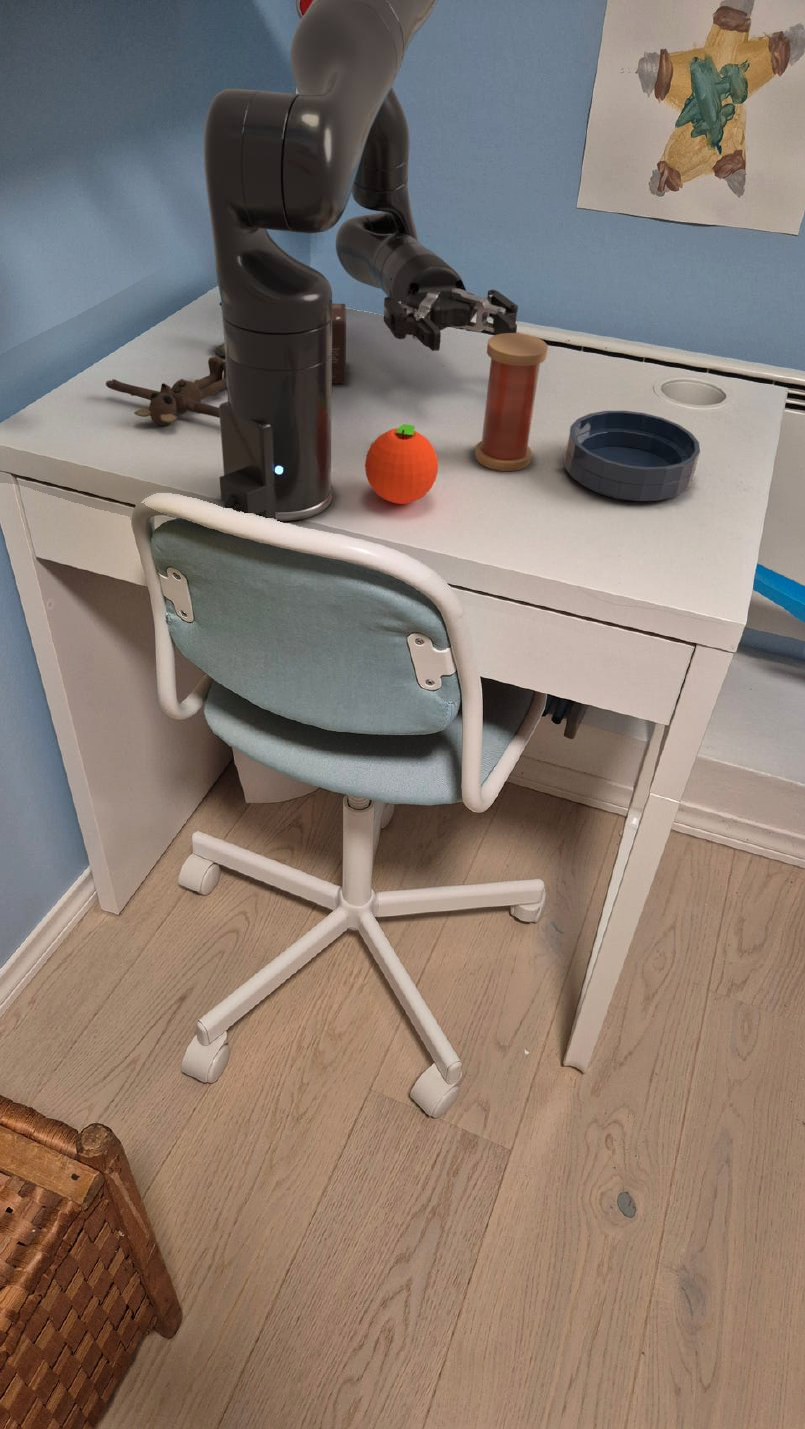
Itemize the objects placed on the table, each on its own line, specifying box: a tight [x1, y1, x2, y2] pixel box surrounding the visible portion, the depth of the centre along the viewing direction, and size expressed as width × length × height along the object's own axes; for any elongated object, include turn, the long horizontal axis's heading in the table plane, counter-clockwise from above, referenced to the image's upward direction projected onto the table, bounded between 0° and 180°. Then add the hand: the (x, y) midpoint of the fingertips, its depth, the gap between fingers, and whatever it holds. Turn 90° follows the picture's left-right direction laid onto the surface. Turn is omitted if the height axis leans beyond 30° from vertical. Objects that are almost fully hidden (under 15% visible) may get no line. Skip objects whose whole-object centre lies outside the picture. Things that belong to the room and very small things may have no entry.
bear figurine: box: [105, 355, 227, 427], centre depth 107 cm, size 18×4×14 cm
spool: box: [474, 332, 549, 472], centre depth 98 cm, size 6×6×12 cm
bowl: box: [564, 410, 701, 502], centre depth 100 cm, size 13×13×4 cm
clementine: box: [364, 423, 439, 505], centre depth 93 cm, size 8×7×7 cm
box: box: [332, 302, 347, 384], centre depth 114 cm, size 6×6×7 cm
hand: (474, 338), depth 104 cm, fingers open, 8 cm apart
